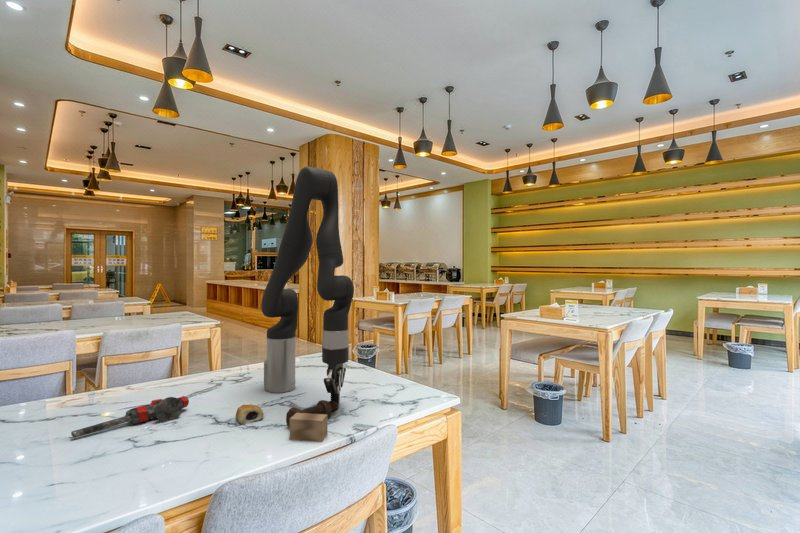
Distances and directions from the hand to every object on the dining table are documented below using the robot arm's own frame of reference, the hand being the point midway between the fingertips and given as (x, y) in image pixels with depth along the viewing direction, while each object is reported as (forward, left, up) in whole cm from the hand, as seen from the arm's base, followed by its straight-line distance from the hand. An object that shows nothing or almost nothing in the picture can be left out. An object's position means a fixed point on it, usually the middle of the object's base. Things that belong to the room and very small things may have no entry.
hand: (335, 405), depth 113 cm
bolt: (-2, -9, -1) cm, 10 cm away
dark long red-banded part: (-49, -18, -2) cm, 53 cm away
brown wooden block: (0, -19, -1) cm, 19 cm away
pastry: (-21, -11, -2) cm, 23 cm away
